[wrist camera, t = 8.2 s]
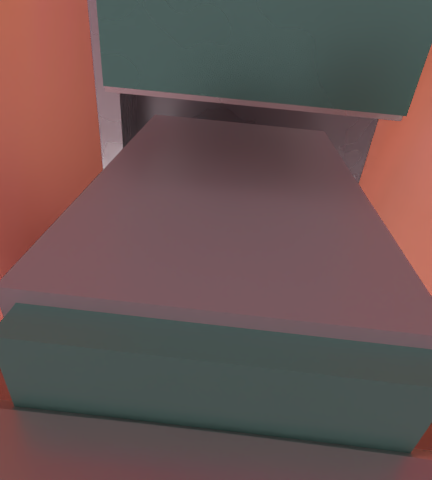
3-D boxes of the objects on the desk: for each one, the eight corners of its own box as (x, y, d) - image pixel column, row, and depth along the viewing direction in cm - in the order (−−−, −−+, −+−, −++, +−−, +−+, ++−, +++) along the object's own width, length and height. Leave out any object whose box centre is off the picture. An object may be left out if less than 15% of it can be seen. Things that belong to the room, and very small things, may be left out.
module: (324, 131, 11) (484, 378, 3) (277, 326, 15) (305, 620, 8) (154, 114, 11) (-37, 319, 4) (157, 313, 15) (73, 589, 8)
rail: (418, -84, 12) (913, -377, 3) (298, 337, 23) (329, 549, 14) (121, -109, 12) (-228, -444, 3) (140, 319, 23) (69, 514, 14)
